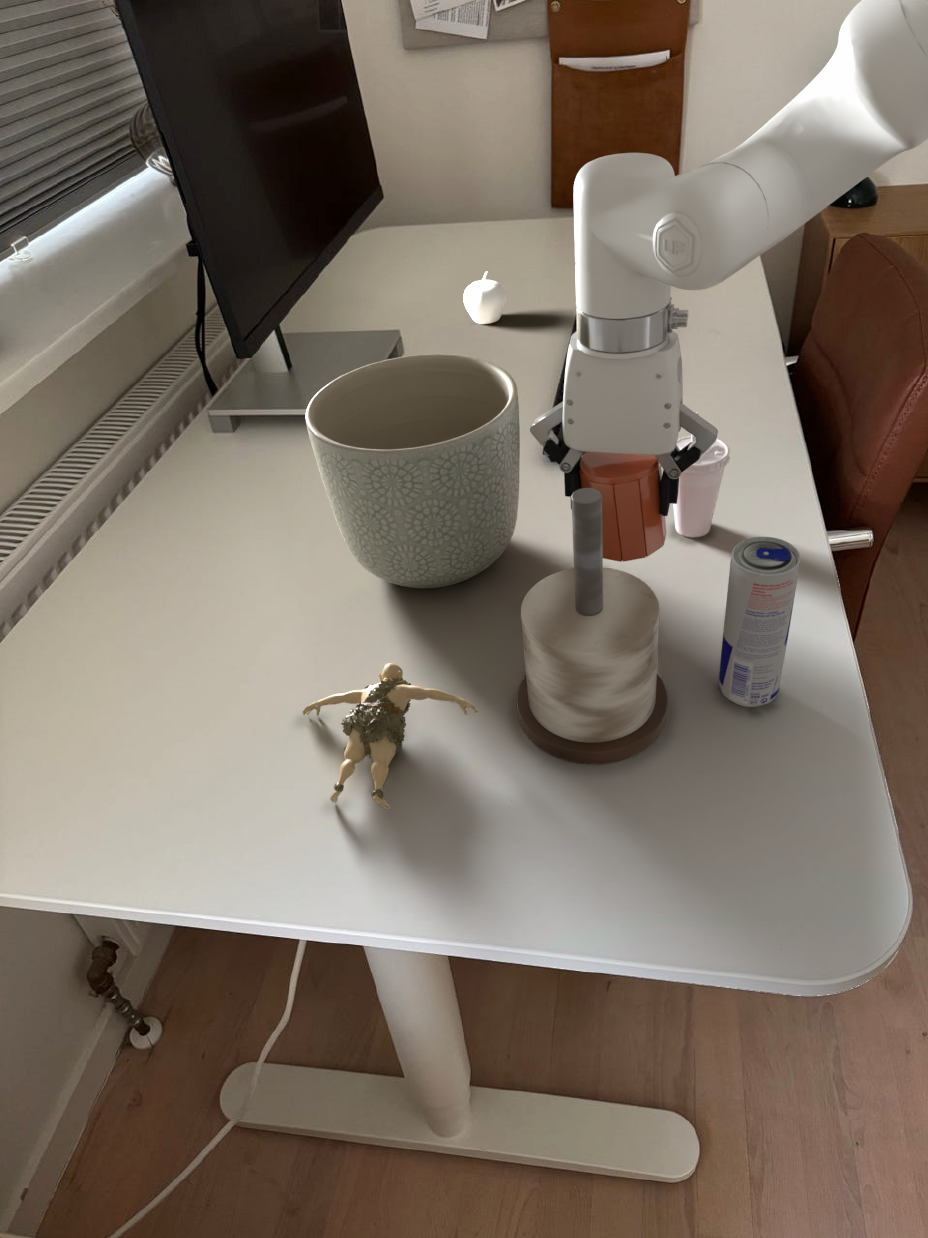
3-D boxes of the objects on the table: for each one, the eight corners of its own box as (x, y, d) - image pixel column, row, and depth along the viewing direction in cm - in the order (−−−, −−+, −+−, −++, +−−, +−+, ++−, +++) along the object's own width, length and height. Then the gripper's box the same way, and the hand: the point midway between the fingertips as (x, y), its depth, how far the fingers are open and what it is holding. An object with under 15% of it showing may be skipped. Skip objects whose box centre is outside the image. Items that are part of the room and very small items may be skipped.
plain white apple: (505, 327, 146) (501, 278, 141) (463, 329, 148) (457, 280, 143) (510, 310, 152) (506, 263, 147) (469, 312, 153) (464, 265, 148)
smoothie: (652, 520, 100) (656, 405, 91) (704, 506, 101) (713, 391, 92) (680, 550, 95) (687, 432, 86) (734, 535, 96) (746, 417, 87)
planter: (561, 526, 101) (554, 367, 89) (468, 637, 88) (445, 469, 76) (409, 490, 110) (384, 342, 98) (304, 586, 97) (260, 429, 85)
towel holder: (674, 666, 81) (687, 454, 67) (657, 775, 72) (667, 555, 58) (536, 651, 85) (520, 446, 71) (502, 752, 76) (476, 540, 62)
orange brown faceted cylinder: (585, 527, 90) (573, 448, 85) (659, 513, 89) (652, 432, 84) (595, 567, 84) (583, 484, 79) (674, 552, 84) (667, 468, 78)
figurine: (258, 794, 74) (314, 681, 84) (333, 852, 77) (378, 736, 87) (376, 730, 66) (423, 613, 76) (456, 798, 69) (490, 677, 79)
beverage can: (778, 675, 79) (801, 536, 70) (777, 716, 76) (801, 575, 66) (719, 668, 81) (733, 531, 71) (715, 708, 77) (729, 569, 67)
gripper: (735, 306, 73) (718, 489, 85) (529, 305, 78) (539, 478, 89) (729, 344, 68) (712, 534, 79) (508, 341, 73) (522, 520, 84)
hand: (620, 504), depth 84 cm, fingers closed on orange brown faceted cylinder, 7 cm apart
